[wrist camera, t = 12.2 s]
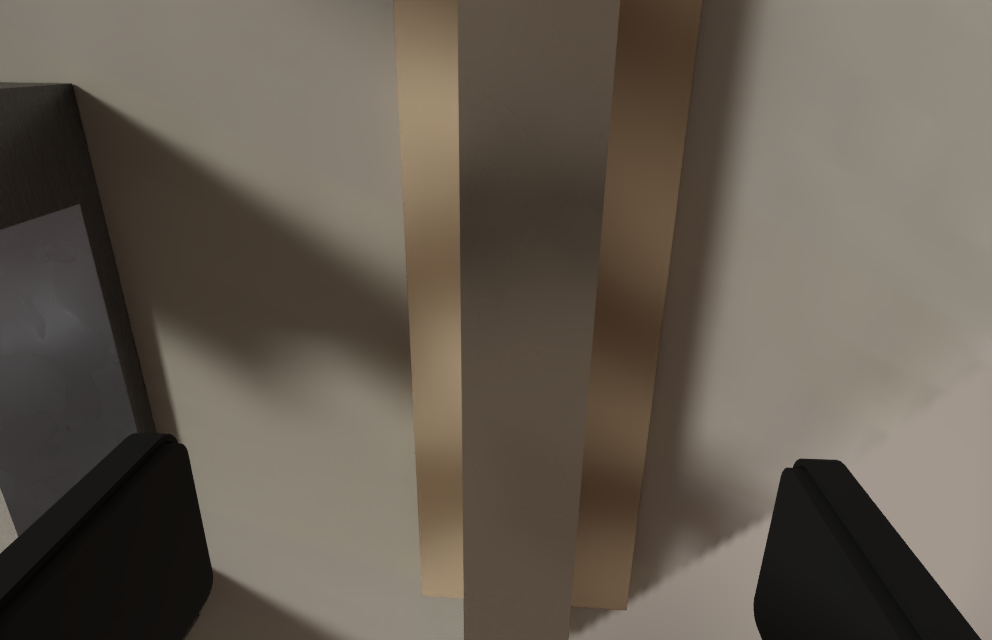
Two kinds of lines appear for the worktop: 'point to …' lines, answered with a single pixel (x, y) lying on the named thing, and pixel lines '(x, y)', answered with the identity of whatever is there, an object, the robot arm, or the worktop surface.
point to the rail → (528, 296)
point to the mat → (620, 286)
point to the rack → (57, 309)
